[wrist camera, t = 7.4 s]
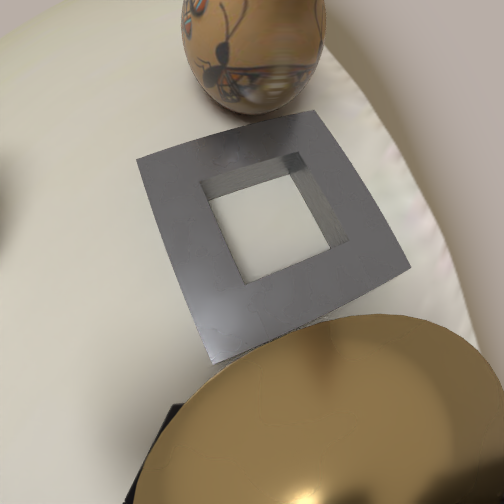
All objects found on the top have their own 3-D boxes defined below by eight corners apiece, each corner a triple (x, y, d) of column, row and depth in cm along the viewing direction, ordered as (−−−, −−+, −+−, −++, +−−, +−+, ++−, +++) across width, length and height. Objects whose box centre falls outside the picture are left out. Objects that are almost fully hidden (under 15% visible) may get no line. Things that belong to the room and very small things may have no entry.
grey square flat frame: (390, 279, 19) (411, 267, 17) (213, 364, 16) (212, 364, 14) (305, 132, 22) (314, 110, 20) (143, 181, 20) (136, 159, 17)
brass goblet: (330, 427, 15) (529, 496, 3) (231, 481, 13) (269, 670, 1) (278, 334, 16) (433, 240, 4) (174, 386, 15) (47, 438, 3)
